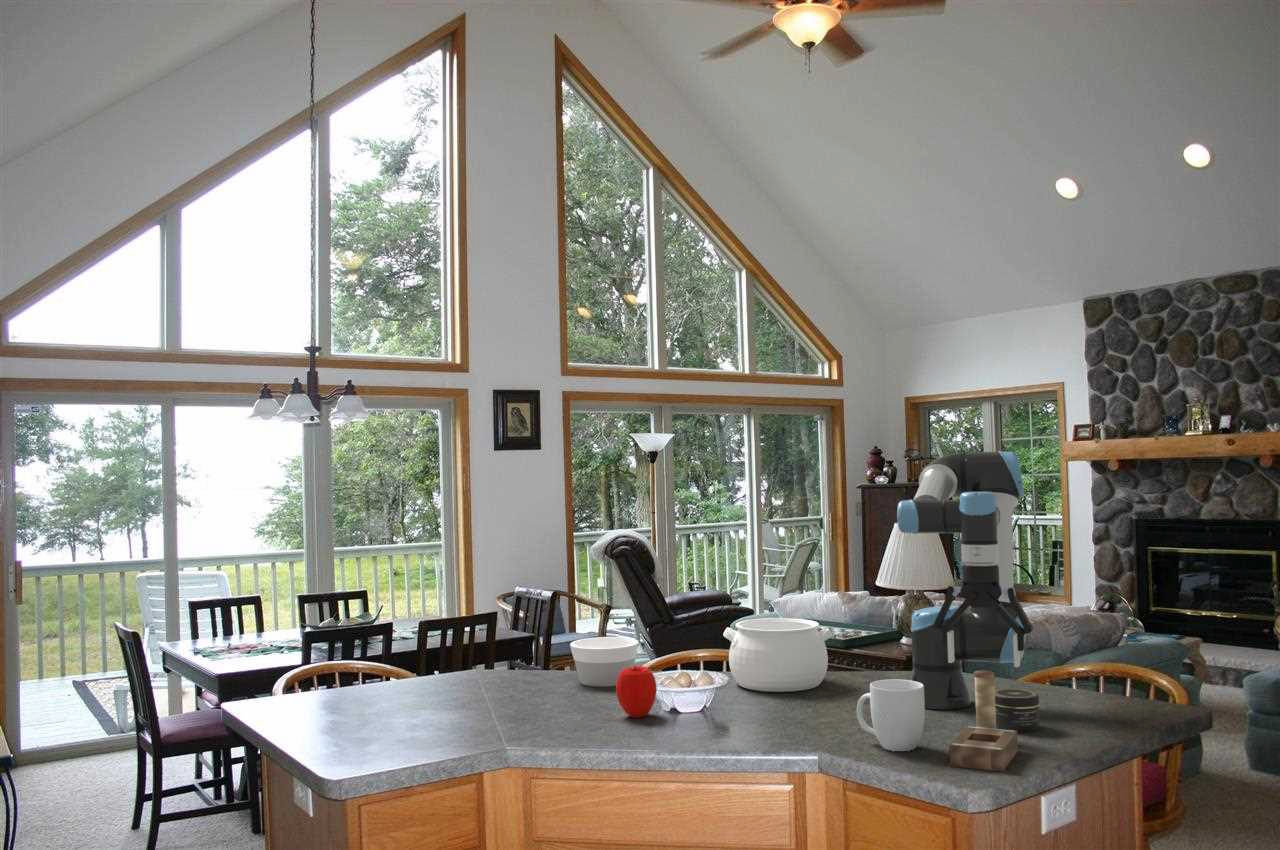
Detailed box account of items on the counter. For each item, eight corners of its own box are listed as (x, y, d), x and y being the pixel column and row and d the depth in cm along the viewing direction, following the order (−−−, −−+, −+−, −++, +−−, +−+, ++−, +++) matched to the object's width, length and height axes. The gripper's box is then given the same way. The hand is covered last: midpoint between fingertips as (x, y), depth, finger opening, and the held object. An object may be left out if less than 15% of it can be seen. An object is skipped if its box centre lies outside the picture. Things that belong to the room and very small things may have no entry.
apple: (632, 709, 262) (631, 659, 263) (666, 713, 257) (664, 663, 257) (608, 717, 254) (607, 666, 255) (642, 722, 248) (640, 670, 249)
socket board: (949, 765, 208) (949, 744, 208) (967, 745, 222) (966, 725, 222) (1003, 771, 203) (1002, 749, 203) (1017, 750, 217) (1017, 730, 217)
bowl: (569, 676, 305) (568, 638, 306) (636, 673, 307) (635, 635, 308) (572, 690, 286) (571, 650, 287) (643, 686, 288) (642, 646, 289)
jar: (1050, 730, 232) (1048, 695, 232) (1010, 735, 229) (1009, 699, 229) (1021, 720, 242) (1020, 686, 242) (983, 724, 239) (981, 690, 239)
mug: (845, 746, 223) (843, 684, 224) (870, 735, 232) (868, 675, 232) (911, 758, 214) (909, 692, 214) (935, 746, 222) (933, 682, 223)
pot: (836, 675, 296) (834, 617, 297) (831, 696, 271) (829, 632, 271) (731, 673, 303) (729, 616, 304) (717, 693, 277) (715, 631, 278)
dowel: (974, 740, 226) (972, 673, 226) (978, 735, 230) (976, 670, 230) (994, 742, 224) (992, 674, 225) (998, 737, 228) (996, 671, 228)
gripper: (917, 564, 231) (920, 663, 230) (1038, 566, 219) (1043, 671, 218) (926, 561, 237) (929, 657, 236) (1044, 563, 225) (1048, 664, 224)
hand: (983, 664), depth 227 cm, fingers open, 13 cm apart
